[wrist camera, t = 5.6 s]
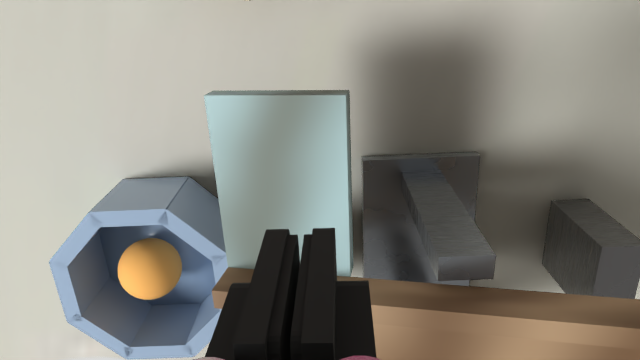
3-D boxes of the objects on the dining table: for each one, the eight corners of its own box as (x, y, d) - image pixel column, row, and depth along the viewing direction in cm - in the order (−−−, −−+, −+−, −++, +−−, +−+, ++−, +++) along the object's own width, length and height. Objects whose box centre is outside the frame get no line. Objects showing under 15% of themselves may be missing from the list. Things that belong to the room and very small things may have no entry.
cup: (235, 174, 25) (221, 206, 21) (251, 307, 28) (241, 355, 25) (76, 181, 25) (34, 214, 22) (110, 312, 29) (78, 361, 25)
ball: (124, 265, 22) (102, 242, 25) (137, 321, 23) (115, 293, 26) (187, 241, 24) (161, 221, 26) (196, 294, 25) (171, 270, 28)
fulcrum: (598, 146, 25) (740, 227, 16) (569, 305, 28) (672, 438, 20) (242, 161, 25) (202, 248, 17) (259, 316, 29) (234, 451, 20)
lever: (800, 88, 14) (902, 117, 11) (687, 422, 18) (736, 504, 15) (213, 90, 17) (170, 112, 14) (249, 367, 22) (223, 425, 19)
